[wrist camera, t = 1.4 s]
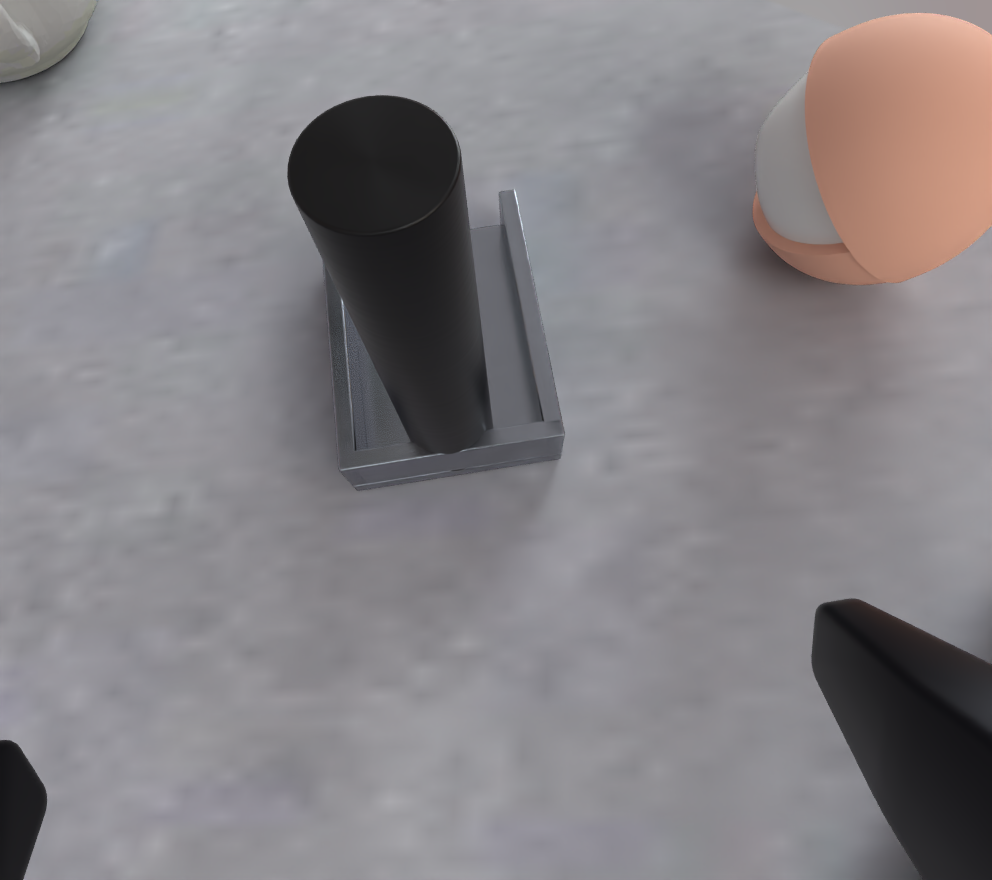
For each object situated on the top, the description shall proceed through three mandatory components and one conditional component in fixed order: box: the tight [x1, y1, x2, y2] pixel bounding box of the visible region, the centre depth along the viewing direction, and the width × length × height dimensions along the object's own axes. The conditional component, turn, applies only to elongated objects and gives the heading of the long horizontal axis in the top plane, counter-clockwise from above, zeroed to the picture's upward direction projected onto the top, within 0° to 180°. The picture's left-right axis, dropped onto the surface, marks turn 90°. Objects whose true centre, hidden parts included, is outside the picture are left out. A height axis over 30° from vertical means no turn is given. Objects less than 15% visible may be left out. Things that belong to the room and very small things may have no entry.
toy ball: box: [753, 13, 992, 285], centre depth 21 cm, size 8×8×8 cm
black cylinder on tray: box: [287, 95, 565, 491], centre depth 18 cm, size 9×7×13 cm
